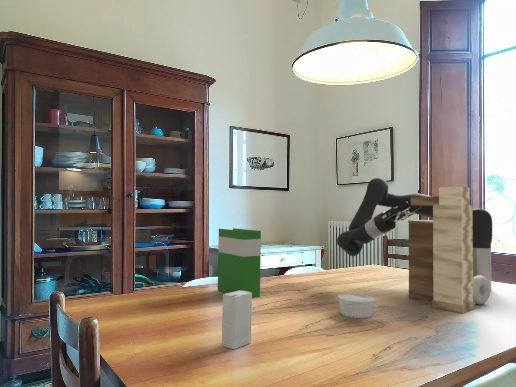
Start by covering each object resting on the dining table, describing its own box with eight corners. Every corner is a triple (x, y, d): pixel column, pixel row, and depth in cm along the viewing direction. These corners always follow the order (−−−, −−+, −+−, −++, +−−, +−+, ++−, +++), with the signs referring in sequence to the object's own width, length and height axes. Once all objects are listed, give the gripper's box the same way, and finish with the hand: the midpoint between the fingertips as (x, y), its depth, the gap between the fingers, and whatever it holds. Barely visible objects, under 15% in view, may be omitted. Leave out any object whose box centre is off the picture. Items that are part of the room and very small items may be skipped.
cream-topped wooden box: (412, 291, 154) (412, 219, 156) (450, 295, 148) (450, 220, 149) (408, 297, 144) (408, 220, 145) (448, 302, 137) (448, 221, 138)
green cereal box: (217, 290, 152) (218, 228, 153) (233, 288, 156) (234, 228, 157) (243, 299, 137) (244, 231, 138) (259, 297, 142) (260, 230, 143)
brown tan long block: (417, 205, 144) (417, 189, 144) (469, 205, 130) (469, 187, 130) (407, 205, 139) (407, 188, 139) (460, 205, 125) (460, 186, 126)
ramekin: (376, 312, 123) (376, 295, 124) (374, 321, 113) (374, 303, 113) (340, 308, 127) (340, 292, 127) (335, 317, 117) (335, 299, 117)
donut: (475, 307, 131) (475, 277, 131) (465, 305, 134) (465, 275, 134) (492, 304, 136) (492, 275, 136) (482, 301, 139) (482, 273, 139)
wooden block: (444, 303, 136) (444, 205, 138) (474, 308, 129) (473, 205, 130) (432, 307, 130) (431, 205, 131) (462, 313, 123) (461, 205, 124)
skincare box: (238, 339, 95) (239, 289, 96) (252, 343, 93) (253, 292, 93) (220, 346, 91) (221, 293, 91) (234, 350, 88) (235, 296, 88)
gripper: (365, 216, 148) (399, 194, 138) (385, 216, 157) (419, 195, 147) (373, 234, 145) (409, 213, 135) (394, 233, 154) (429, 213, 144)
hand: (414, 204), depth 141 cm, fingers open, 8 cm apart
